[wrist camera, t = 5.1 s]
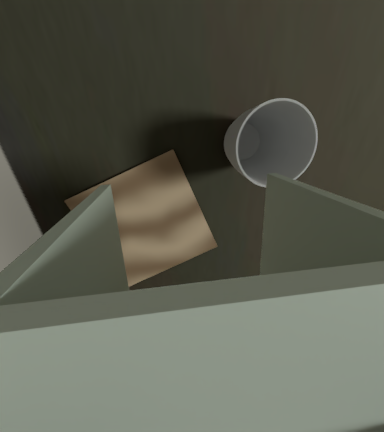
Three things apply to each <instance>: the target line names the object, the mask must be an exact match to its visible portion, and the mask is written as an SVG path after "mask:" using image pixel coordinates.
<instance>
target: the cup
mask: <svg viewBox="0 0 384 432" xmlns="http://www.w3.org/2000/svg"><path fill="white" fill-rule="evenodd" d="M317 141H318V132H317V126H316V123H315V120H314V118H313V116H312V114H311V113H310V111H309V110H308V109H307V108H306V107H305V106H304V105H303V104H301V103H299V102H297V101H295V100H292V99H287V98H278V99H273V100H269V101H267V102H265V103H262V104H260V105H258V106H256V107H254V108H251V109H249V110H247V111H246V112H244V113H243V114H242V115H240V116H239V117H238V118H237V119H236V120H235V121H234V122H233V123H232V124H231V125H230V126H229V128H228V130H227V132H226V134H225V138H224V151H225V154H226V156H227V158H228V160H229V161H230V163H231V164H232V166H233V167H234V168H235V169H236V170H237V171H238V172H239V173H241V174H242V175H243V176H245V177H246V178H247V179H248V180H250V181H251V182H253V183H254V184H256V185H259V186H262V187H266V183H267V173H277V174H280V175H283V176H286V177H288V178H291V179H294V180H295V179H297V178H298V177H299V176H300V175H301V174H302V173H303V172H304V171H305V170H306V169H307V167H308V166H309V164H310V163H311V161H312V159H313V157H314V154H315V151H316V147H317Z"/></svg>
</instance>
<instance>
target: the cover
mask: <svg viewBox="0 0 384 432" xmlns="http://www.w3.org/2000/svg"><path fill="white" fill-rule="evenodd" d="M0 432H384V212H383V211H380V210H378V209H375V208H372V207H369V206H366V205H364V204H361V203H358V202H355V201H353V200H350V199H347V198H344V197H341V196H339V195H336V194H333V193H330V192H327V191H325V190H322V189H319V188H316V187H313V186H311V185H308V184H305V183H302V182H300V181H297V180H294V179H291V178H288V177H286V176H283V175H280V174H277V173H267V183H266V197H265V211H264V224H263V238H262V252H261V265H260V275H259V276H250V277H242V278H233V279H225V280H216V281H208V282H199V283H190V284H182V285H173V286H165V287H156V288H148V289H139V290H130V291H129V286H128V281H127V275H126V269H125V264H124V258H123V252H122V246H121V241H120V235H119V229H118V224H117V218H116V212H115V207H114V201H113V195H112V189H111V184H109V185H100V186H99V187H98V188H97V189H96V190H95V191H94V192H92V193H91V194H90V195H89V196H88V197H87V198H85V199H84V200H83V201H82V202H81V203H80V204H79V205H77V206H76V207H75V208H74V209H73V210H72V211H70V212H69V213H68V214H67V215H66V216H65V217H64V218H62V219H61V220H60V221H59V222H58V223H57V224H55V225H54V226H53V227H52V228H51V229H50V230H49V231H47V232H46V233H45V234H44V235H43V236H42V237H41V238H39V239H38V240H37V241H36V242H35V243H34V244H32V245H31V246H30V247H29V248H28V249H27V250H26V251H24V252H23V253H22V254H21V255H20V256H19V257H17V258H16V259H15V260H14V261H13V262H12V263H11V264H9V265H8V266H7V267H6V268H5V269H4V270H3V271H1V272H0Z"/></svg>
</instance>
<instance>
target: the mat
mask: <svg viewBox="0 0 384 432" xmlns="http://www.w3.org/2000/svg"><path fill="white" fill-rule="evenodd" d="M109 184H111V189H112V195H113V201H114V207H115V212H116V218H117V224H118V229H119V235H120V241H121V246H122V252H123V258H124V264H125V269H126V275H127V281H128V286H131V285H134V284H136V283H138V282H140V281H142V280H145V279H147V278H149V277H151V276H153V275H156V274H158V273H160V272H162V271H164V270H167V269H169V268H171V267H173V266H175V265H178V264H180V263H182V262H184V261H186V260H189V259H191V258H193V257H195V256H198V255H200V254H202V253H204V252H206V251H209V250H211V249H213V248H215V247H217V244H216V242H215V240H214V238H213V236H212V233H211V231H210V229H209V227H208V225H207V222H206V220H205V218H204V216H203V214H202V211H201V209H200V207H199V205H198V203H197V200H196V198H195V196H194V194H193V192H192V189H191V187H190V185H189V183H188V181H187V178H186V176H185V174H184V172H183V170H182V167H181V165H180V163H179V161H178V159H177V156H176V154H175V152H174V150H173V149H172V150H170V151H168V152H166V153H164V154H162V155H159V156H157V157H155V158H153V159H151V160H149V161H147V162H145V163H143V164H140V165H138V166H136V167H134V168H132V169H130V170H128V171H126V172H124V173H121V174H119V175H117V176H115V177H113V178H111V179H109V180H107V181H105V182H102V183H100V184H98V185H96V186H94V187H92V188H90V189H88V190H85V191H83V192H81V193H79V194H77V195H75V196H73V197H71V198H69V199H66V200H65V201H64V202H65V203H66V204H67V206H68V207H69V209H70V210H71V211H72V210H73V209H74V208H75V207H76V206H77V205H79V204H80V203H81V202H82V201H83V200H84V199H85V198H87V197H88V196H89V195H90V194H91V193H92V192H94V191H95V190H96V189H97V188H98V187H99V186H100V185H109Z"/></svg>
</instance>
